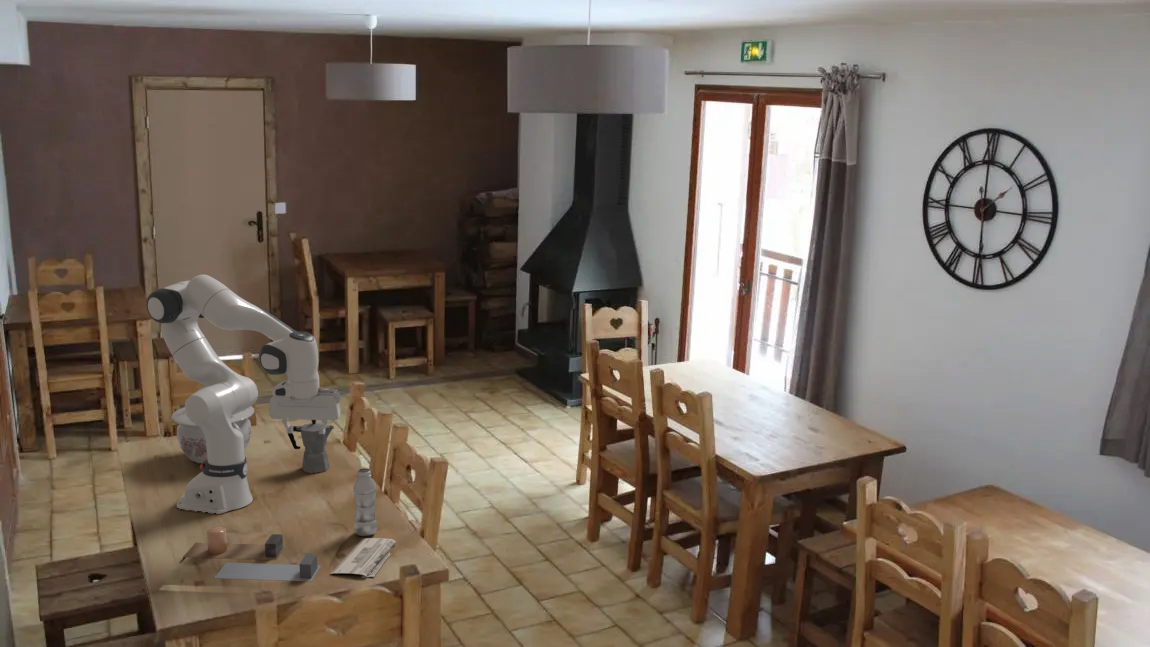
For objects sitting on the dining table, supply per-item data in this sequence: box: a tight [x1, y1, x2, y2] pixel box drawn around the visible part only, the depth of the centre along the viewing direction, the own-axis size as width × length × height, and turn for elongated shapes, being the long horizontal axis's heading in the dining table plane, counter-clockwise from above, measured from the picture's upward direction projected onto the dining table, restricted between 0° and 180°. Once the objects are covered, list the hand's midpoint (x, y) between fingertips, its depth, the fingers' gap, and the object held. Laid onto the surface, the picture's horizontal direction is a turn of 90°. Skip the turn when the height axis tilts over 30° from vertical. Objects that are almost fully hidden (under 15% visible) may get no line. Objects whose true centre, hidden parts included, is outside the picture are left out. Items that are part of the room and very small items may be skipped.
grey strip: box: [213, 553, 321, 582], centre depth 274 cm, size 26×9×5 cm, turn 88°
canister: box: [206, 526, 228, 555], centre depth 285 cm, size 5×5×6 cm
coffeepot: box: [286, 420, 335, 474], centre depth 348 cm, size 15×9×18 cm, turn 103°
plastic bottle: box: [352, 467, 378, 537], centre depth 298 cm, size 6×7×20 cm
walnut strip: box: [182, 533, 287, 561], centre depth 285 cm, size 26×9×5 cm, turn 88°
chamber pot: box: [170, 405, 255, 464], centre depth 355 cm, size 28×28×21 cm
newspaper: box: [330, 537, 397, 579], centre depth 285 cm, size 23×12×2 cm, turn 169°
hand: (306, 433), depth 299 cm, fingers open, 8 cm apart
